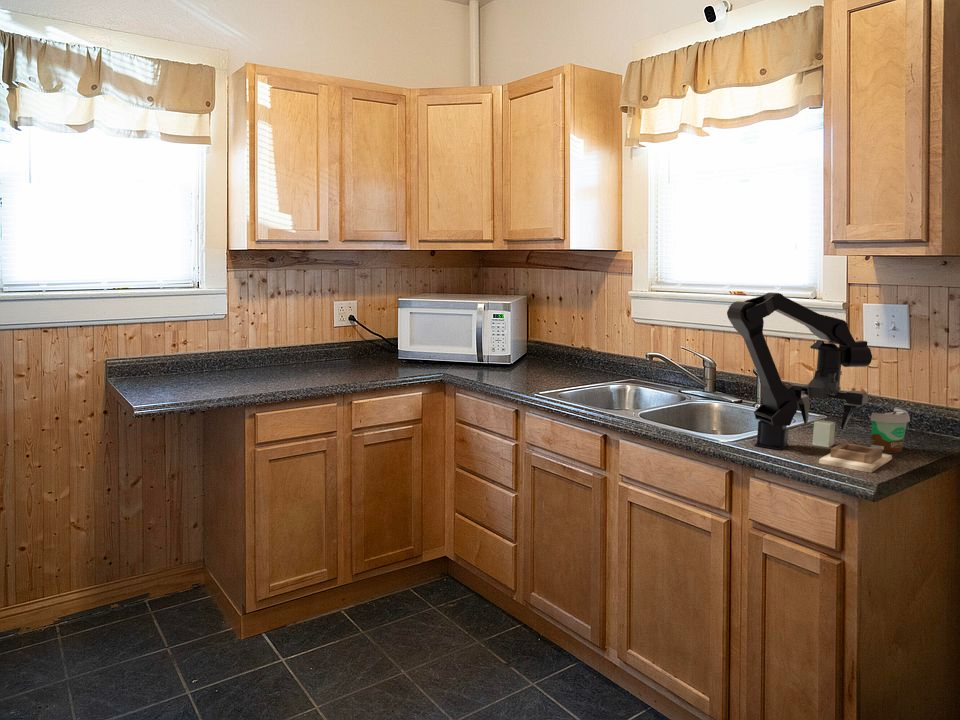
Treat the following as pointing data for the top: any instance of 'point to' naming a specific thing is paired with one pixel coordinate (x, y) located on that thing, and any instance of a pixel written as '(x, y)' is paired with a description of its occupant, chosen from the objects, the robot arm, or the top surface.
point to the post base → (856, 457)
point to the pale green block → (823, 433)
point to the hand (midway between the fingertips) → (823, 426)
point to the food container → (889, 430)
